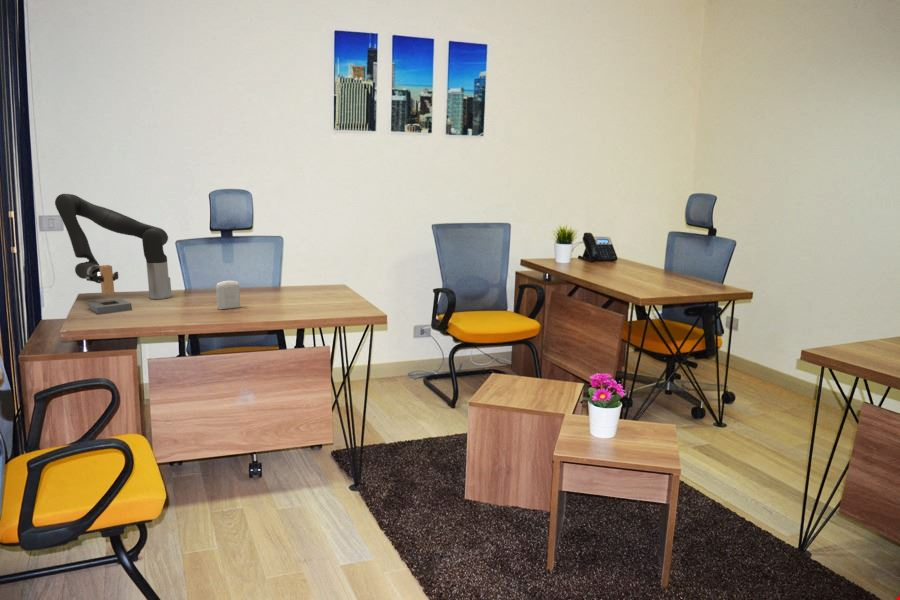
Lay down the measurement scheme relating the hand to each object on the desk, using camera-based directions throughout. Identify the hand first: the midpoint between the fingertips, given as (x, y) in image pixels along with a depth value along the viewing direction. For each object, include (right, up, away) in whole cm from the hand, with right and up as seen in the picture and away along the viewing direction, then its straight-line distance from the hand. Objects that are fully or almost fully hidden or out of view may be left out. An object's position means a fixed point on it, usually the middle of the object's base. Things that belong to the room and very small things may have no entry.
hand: (108, 279), depth 314 cm
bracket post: (-2, -6, +3) cm, 7 cm away
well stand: (-1, -13, +5) cm, 14 cm away
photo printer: (+50, -13, +7) cm, 53 cm away
